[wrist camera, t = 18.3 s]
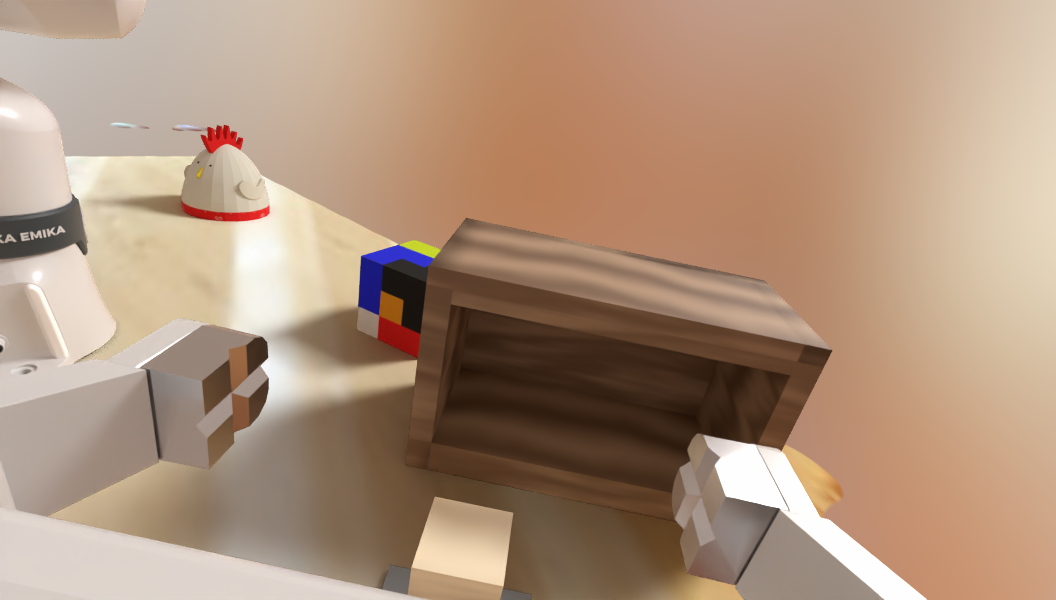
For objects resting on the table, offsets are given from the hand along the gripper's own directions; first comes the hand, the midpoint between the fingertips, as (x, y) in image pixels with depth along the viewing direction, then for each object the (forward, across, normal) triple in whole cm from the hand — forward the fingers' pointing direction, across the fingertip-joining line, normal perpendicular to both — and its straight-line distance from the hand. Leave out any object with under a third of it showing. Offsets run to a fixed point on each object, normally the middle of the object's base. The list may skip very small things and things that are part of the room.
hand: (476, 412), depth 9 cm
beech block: (+11, 0, +26) cm, 28 cm away
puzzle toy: (+49, +13, +28) cm, 58 cm away
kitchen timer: (+79, +57, +29) cm, 101 cm away
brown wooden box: (+33, -8, +27) cm, 43 cm away
